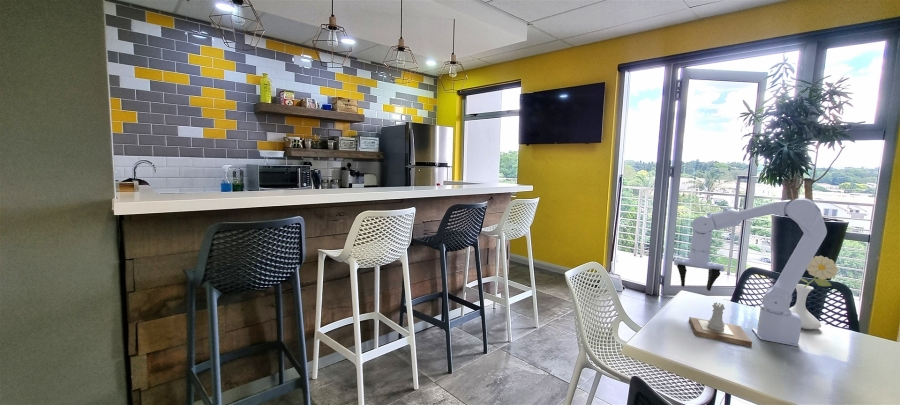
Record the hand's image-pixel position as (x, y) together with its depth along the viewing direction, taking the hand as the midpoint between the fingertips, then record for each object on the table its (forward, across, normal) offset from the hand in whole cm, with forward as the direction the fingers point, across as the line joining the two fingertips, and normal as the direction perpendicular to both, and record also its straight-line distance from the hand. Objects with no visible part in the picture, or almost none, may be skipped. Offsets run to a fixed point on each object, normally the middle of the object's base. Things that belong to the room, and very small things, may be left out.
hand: (695, 287), depth 131 cm
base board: (+10, +5, -13) cm, 17 cm away
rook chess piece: (+8, +4, -14) cm, 17 cm away
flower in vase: (+10, +33, +9) cm, 35 cm away
